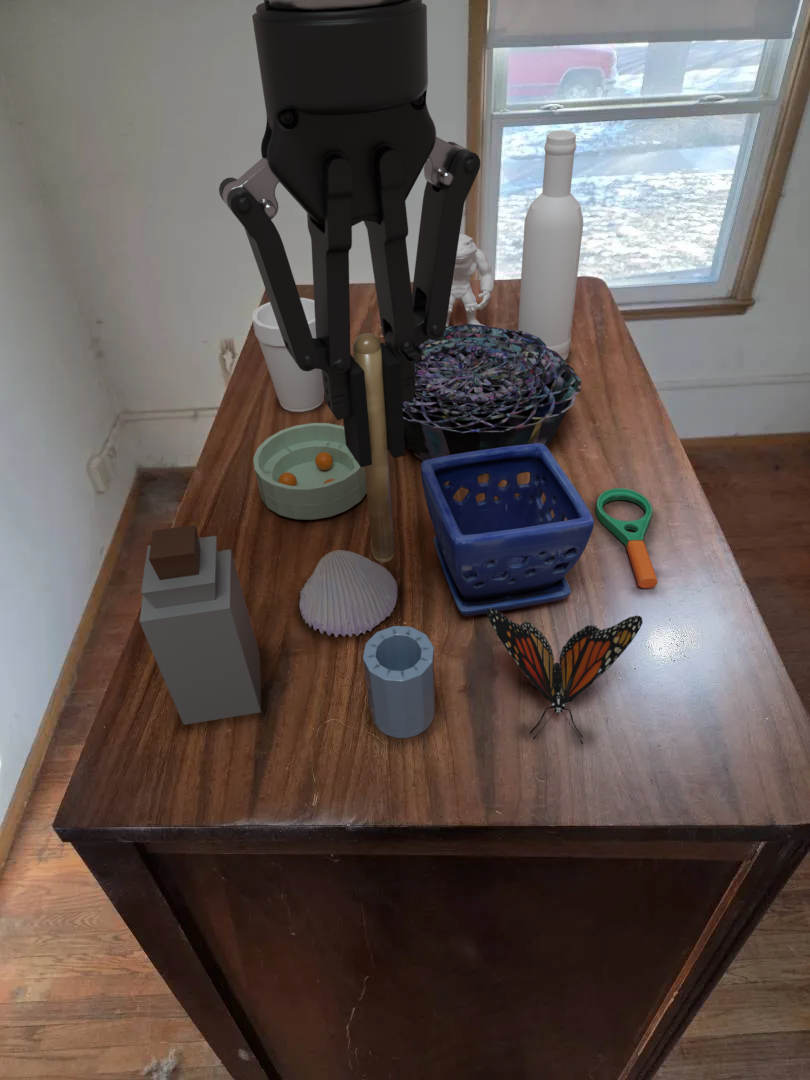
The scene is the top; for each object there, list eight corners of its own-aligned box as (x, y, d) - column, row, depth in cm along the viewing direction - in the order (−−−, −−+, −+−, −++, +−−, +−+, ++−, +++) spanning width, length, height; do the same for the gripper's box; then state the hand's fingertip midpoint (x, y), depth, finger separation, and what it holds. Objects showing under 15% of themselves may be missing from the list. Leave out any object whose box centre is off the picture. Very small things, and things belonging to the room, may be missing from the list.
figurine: (490, 319, 120) (494, 225, 110) (494, 338, 115) (497, 241, 105) (424, 322, 121) (422, 228, 111) (425, 340, 116) (422, 244, 106)
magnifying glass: (590, 496, 85) (592, 485, 84) (643, 495, 85) (646, 483, 84) (615, 590, 74) (618, 578, 73) (676, 589, 74) (680, 578, 72)
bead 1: (277, 494, 87) (274, 479, 86) (282, 483, 89) (279, 468, 87) (295, 495, 87) (293, 480, 85) (299, 483, 88) (297, 468, 87)
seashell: (372, 528, 78) (409, 571, 70) (379, 571, 81) (415, 617, 72) (279, 555, 75) (307, 604, 67) (289, 600, 78) (317, 651, 69)
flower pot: (536, 526, 82) (545, 436, 74) (583, 612, 72) (599, 519, 64) (420, 547, 80) (417, 457, 72) (452, 637, 70) (452, 545, 62)
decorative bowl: (485, 370, 111) (484, 306, 105) (620, 441, 92) (628, 368, 86) (338, 426, 102) (327, 359, 95) (456, 518, 83) (452, 442, 76)
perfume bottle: (261, 712, 65) (217, 565, 53) (183, 725, 64) (121, 579, 52) (259, 653, 70) (219, 507, 58) (187, 664, 69) (131, 519, 57)
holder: (366, 736, 62) (358, 678, 57) (375, 683, 67) (368, 624, 61) (432, 740, 62) (430, 682, 57) (437, 686, 66) (435, 627, 61)
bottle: (527, 338, 115) (542, 123, 95) (576, 348, 112) (602, 127, 92) (507, 361, 110) (519, 139, 90) (557, 372, 107) (581, 144, 86)
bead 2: (314, 473, 90) (312, 458, 88) (318, 462, 91) (315, 448, 90) (332, 474, 90) (330, 459, 88) (335, 463, 91) (333, 448, 90)
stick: (371, 566, 53) (349, 340, 41) (374, 551, 54) (354, 328, 42) (393, 567, 53) (377, 341, 41) (396, 552, 54) (381, 328, 42)
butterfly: (480, 743, 62) (483, 668, 55) (486, 652, 69) (489, 576, 62) (629, 756, 60) (651, 681, 53) (619, 662, 67) (637, 586, 60)
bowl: (248, 521, 84) (240, 487, 81) (275, 454, 94) (269, 421, 91) (361, 525, 83) (357, 491, 80) (377, 457, 93) (374, 424, 89)
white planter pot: (270, 386, 107) (254, 300, 99) (333, 380, 108) (323, 294, 99) (268, 421, 100) (250, 332, 92) (336, 414, 101) (325, 325, 92)
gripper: (184, 20, 27) (282, 516, 42) (533, -15, 31) (504, 450, 46) (151, 1, 32) (249, 449, 48) (453, -27, 36) (451, 395, 52)
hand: (375, 449), depth 47 cm, fingers closed on stick, 1 cm apart
